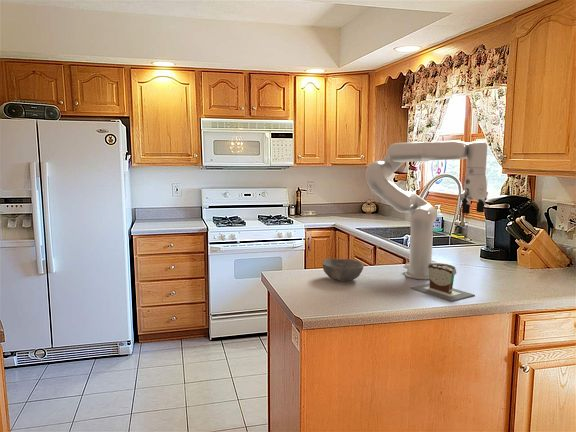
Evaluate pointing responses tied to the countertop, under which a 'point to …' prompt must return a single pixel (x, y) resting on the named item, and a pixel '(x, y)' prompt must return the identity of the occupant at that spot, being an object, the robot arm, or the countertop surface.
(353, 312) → the countertop surface
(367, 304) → the countertop surface
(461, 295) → the mat
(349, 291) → the countertop surface
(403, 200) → the robot arm
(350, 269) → the bowl
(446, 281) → the food container
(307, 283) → the countertop surface
